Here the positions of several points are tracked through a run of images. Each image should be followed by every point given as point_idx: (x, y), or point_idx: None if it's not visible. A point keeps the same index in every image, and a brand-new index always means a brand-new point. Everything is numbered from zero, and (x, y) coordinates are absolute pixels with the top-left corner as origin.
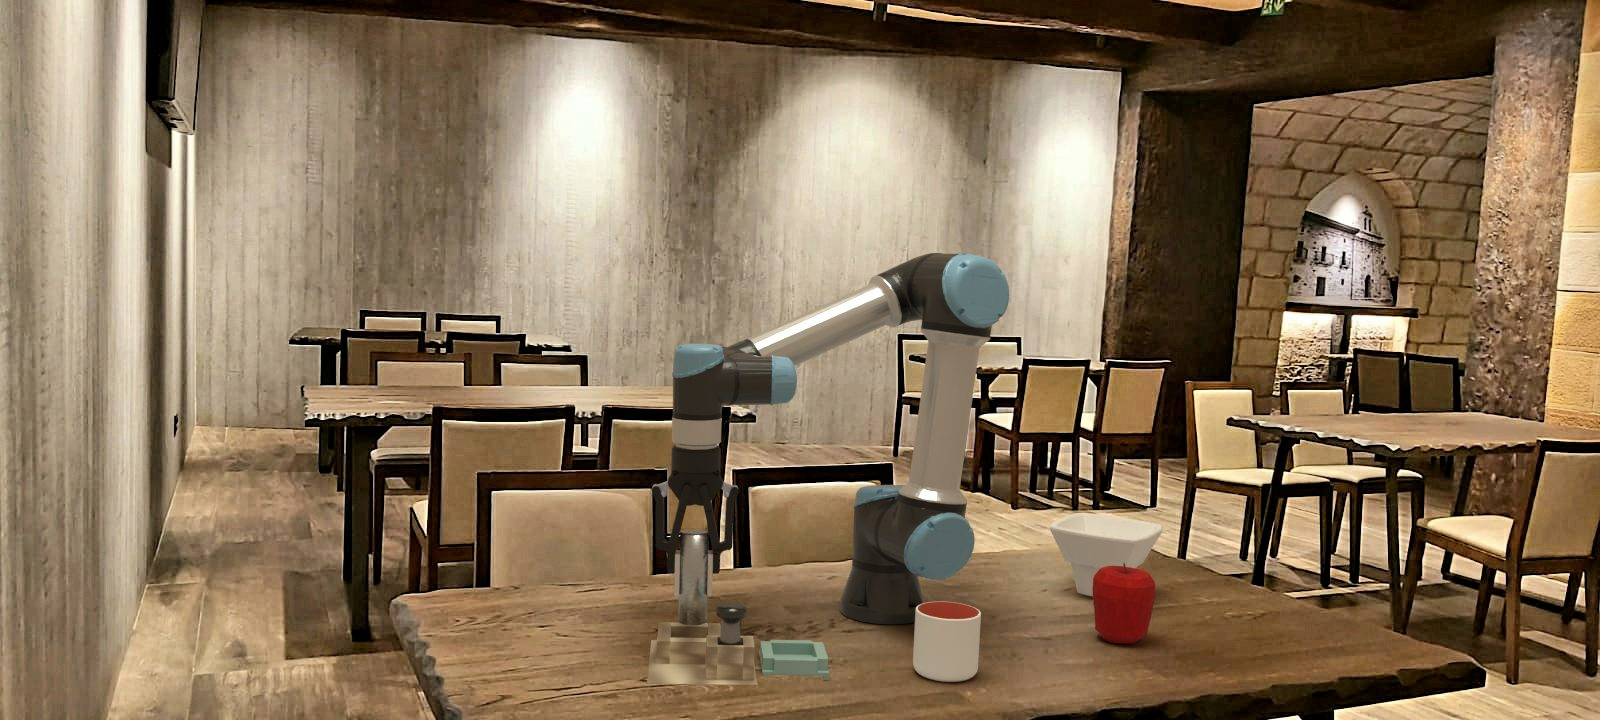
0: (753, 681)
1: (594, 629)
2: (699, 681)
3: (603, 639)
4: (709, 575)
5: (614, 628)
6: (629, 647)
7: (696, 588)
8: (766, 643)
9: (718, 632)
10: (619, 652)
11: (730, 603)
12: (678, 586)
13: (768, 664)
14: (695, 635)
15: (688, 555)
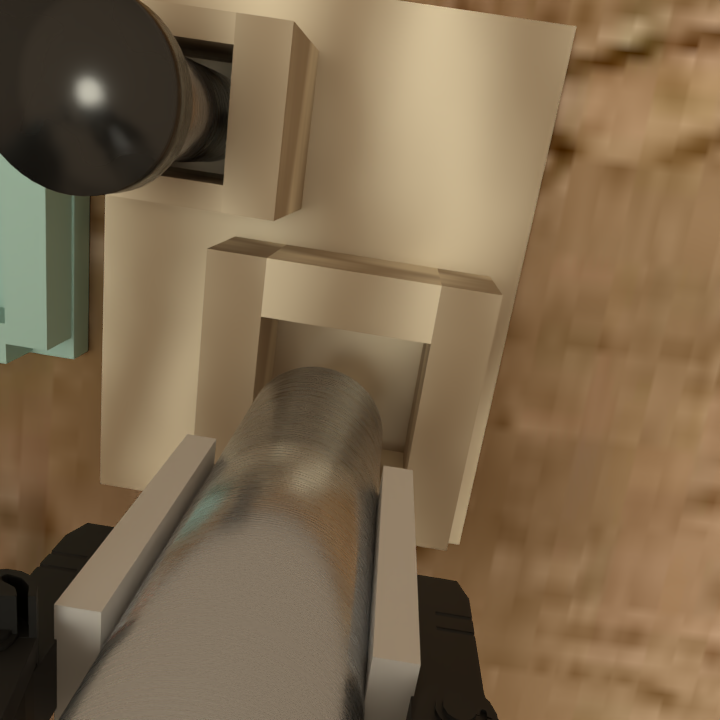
0: None
1: (624, 704)
2: (348, 29)
3: (615, 608)
4: (158, 501)
5: (553, 704)
6: (540, 518)
7: (273, 446)
8: (23, 317)
9: (208, 389)
10: (588, 472)
11: (75, 180)
12: (387, 496)
13: None
14: None
15: (294, 611)
